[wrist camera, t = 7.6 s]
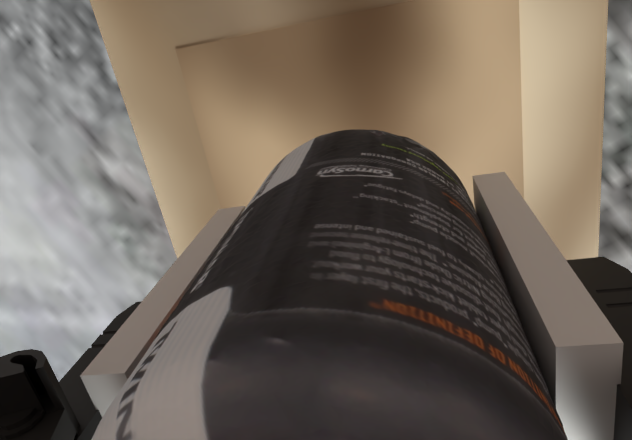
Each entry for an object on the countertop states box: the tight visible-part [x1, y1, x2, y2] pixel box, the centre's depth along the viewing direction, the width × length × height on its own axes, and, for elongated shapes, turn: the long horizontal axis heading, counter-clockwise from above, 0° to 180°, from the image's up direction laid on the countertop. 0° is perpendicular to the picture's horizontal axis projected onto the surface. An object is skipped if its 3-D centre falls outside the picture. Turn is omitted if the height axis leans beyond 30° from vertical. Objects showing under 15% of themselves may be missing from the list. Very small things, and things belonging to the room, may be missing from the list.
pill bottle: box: [91, 129, 568, 440], centre depth 8 cm, size 6×6×11 cm
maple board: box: [90, 0, 608, 260], centre depth 18 cm, size 16×16×1 cm
